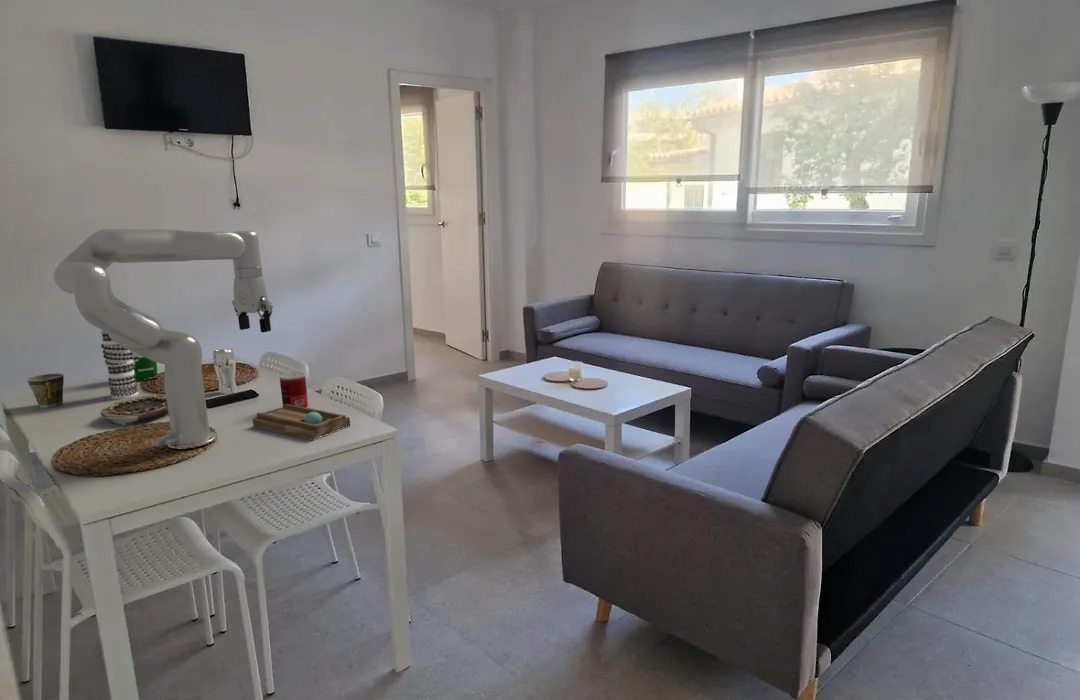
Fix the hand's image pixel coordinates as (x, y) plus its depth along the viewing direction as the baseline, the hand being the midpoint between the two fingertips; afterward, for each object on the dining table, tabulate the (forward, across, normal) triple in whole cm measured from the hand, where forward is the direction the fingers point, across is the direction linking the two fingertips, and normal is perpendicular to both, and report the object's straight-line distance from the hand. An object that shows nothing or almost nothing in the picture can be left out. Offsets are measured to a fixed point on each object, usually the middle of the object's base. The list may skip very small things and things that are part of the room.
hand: (255, 330), depth 203 cm
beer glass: (+28, -40, +15) cm, 51 cm away
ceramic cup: (+28, -80, -24) cm, 88 cm away
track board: (+28, +15, +1) cm, 32 cm away
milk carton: (+28, -87, +12) cm, 92 cm away
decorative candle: (+28, -70, -5) cm, 76 cm away
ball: (+26, +20, +2) cm, 33 cm away
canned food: (+28, -2, +13) cm, 31 cm away
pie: (+29, -41, -16) cm, 53 cm away
